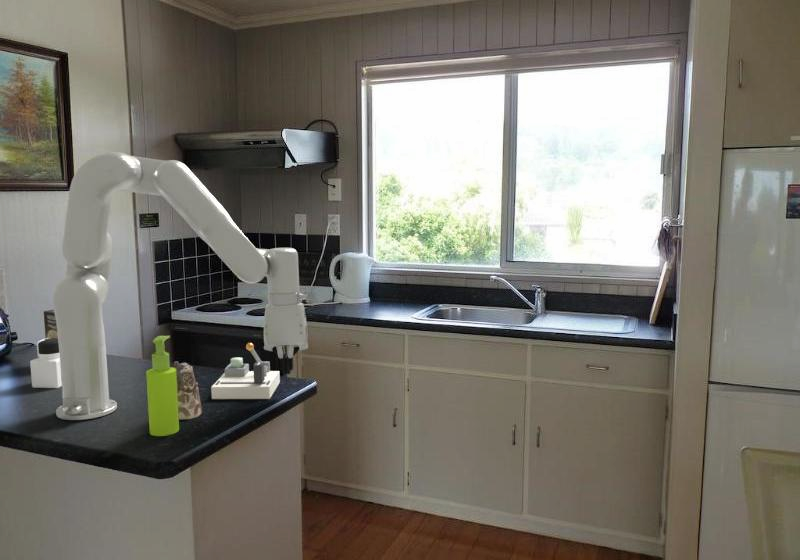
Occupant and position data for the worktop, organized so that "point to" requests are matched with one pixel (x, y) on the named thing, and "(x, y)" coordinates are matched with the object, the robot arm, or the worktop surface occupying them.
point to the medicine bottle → (46, 365)
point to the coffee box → (50, 324)
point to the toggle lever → (253, 352)
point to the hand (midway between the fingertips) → (287, 372)
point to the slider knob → (259, 372)
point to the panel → (245, 384)
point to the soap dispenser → (162, 393)
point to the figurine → (187, 392)
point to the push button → (237, 362)
